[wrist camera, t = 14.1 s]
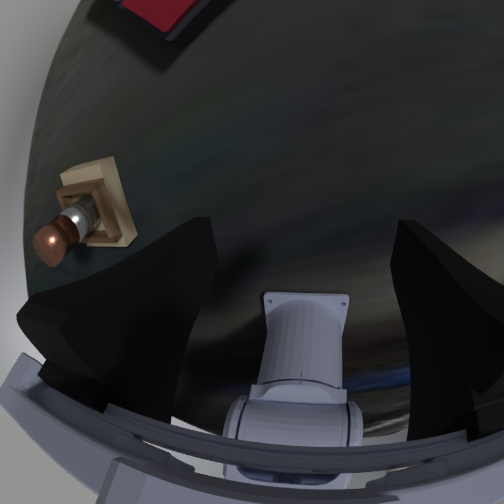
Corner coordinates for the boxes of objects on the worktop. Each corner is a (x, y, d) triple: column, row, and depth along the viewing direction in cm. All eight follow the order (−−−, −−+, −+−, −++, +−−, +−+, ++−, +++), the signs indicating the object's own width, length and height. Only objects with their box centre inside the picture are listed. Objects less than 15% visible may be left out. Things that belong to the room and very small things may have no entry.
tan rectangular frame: (137, 234, 25) (120, 254, 22) (97, 235, 26) (80, 252, 23) (113, 156, 20) (90, 169, 18) (73, 166, 21) (51, 179, 19)
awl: (107, 222, 22) (63, 267, 17) (87, 224, 23) (44, 266, 17) (96, 192, 20) (45, 233, 15) (75, 197, 21) (28, 235, 16)
